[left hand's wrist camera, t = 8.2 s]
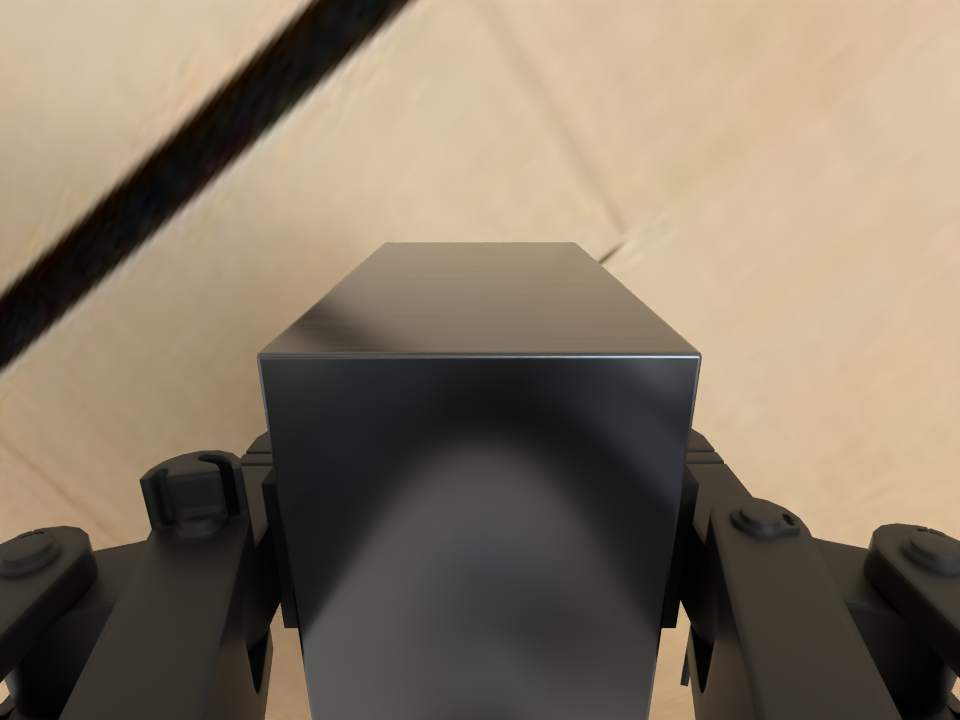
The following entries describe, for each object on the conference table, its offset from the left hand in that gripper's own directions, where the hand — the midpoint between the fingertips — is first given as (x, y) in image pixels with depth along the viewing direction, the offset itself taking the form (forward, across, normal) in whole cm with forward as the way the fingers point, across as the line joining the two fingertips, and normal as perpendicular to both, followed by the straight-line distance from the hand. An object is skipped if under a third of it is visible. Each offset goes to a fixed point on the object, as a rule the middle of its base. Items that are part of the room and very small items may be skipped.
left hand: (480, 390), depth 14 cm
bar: (+1, 0, -13) cm, 13 cm away
